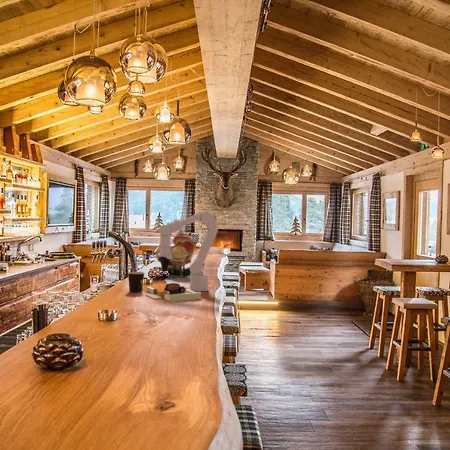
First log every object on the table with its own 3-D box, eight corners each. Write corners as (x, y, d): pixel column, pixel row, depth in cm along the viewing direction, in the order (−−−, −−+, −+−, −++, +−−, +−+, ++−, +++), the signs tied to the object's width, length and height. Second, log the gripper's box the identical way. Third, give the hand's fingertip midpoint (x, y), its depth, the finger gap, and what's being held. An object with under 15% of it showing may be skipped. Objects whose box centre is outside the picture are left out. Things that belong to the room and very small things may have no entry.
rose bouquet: (152, 273, 306) (153, 230, 305) (194, 272, 315) (195, 230, 314) (159, 279, 281) (160, 231, 280) (203, 278, 290) (204, 232, 289)
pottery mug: (160, 299, 219) (160, 283, 223) (169, 304, 227) (169, 289, 231) (181, 295, 215) (181, 279, 219) (190, 301, 223) (190, 285, 227)
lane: (178, 288, 248) (178, 282, 248) (205, 298, 222) (205, 292, 221) (137, 291, 236) (137, 285, 236) (161, 302, 209) (161, 295, 209)
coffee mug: (135, 293, 230) (135, 274, 229) (124, 291, 235) (124, 272, 234) (151, 290, 239) (152, 272, 238) (140, 288, 244) (141, 270, 244)
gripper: (153, 245, 250) (152, 269, 251) (163, 247, 238) (163, 272, 238) (164, 245, 254) (164, 269, 254) (175, 247, 242) (175, 272, 242)
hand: (164, 270), depth 247 cm, fingers closed
